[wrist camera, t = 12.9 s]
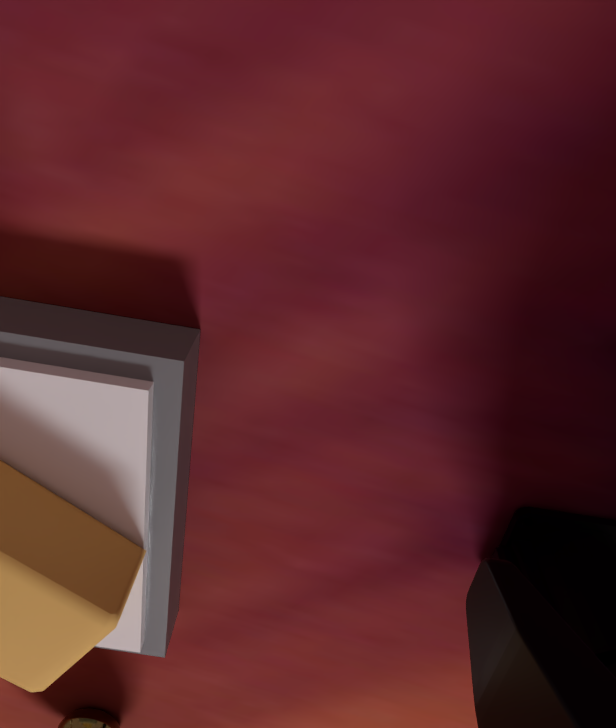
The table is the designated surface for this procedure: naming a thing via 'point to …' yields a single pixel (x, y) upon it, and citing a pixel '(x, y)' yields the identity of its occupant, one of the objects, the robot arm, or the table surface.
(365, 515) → the table surface
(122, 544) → the rubber stamp
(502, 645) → the robot arm
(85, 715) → the cup
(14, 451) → the dial scale
